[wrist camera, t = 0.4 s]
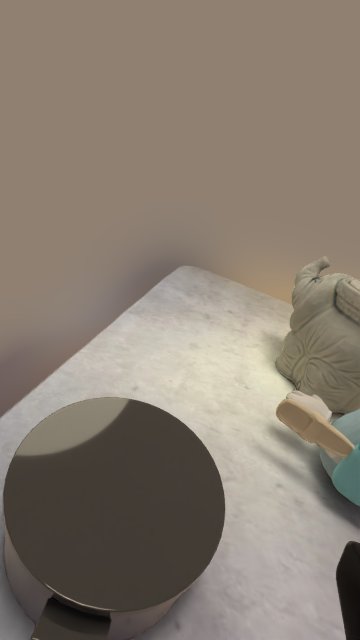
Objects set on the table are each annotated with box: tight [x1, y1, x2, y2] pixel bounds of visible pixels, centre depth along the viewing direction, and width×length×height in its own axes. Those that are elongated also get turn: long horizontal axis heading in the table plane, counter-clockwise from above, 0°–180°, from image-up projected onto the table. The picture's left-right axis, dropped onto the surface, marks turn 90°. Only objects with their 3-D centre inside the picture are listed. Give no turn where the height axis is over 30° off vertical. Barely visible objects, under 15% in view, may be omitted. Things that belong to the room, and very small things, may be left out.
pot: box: [3, 397, 225, 640], centre depth 20 cm, size 15×13×5 cm
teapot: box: [275, 256, 360, 414], centre depth 42 cm, size 16×15×19 cm
